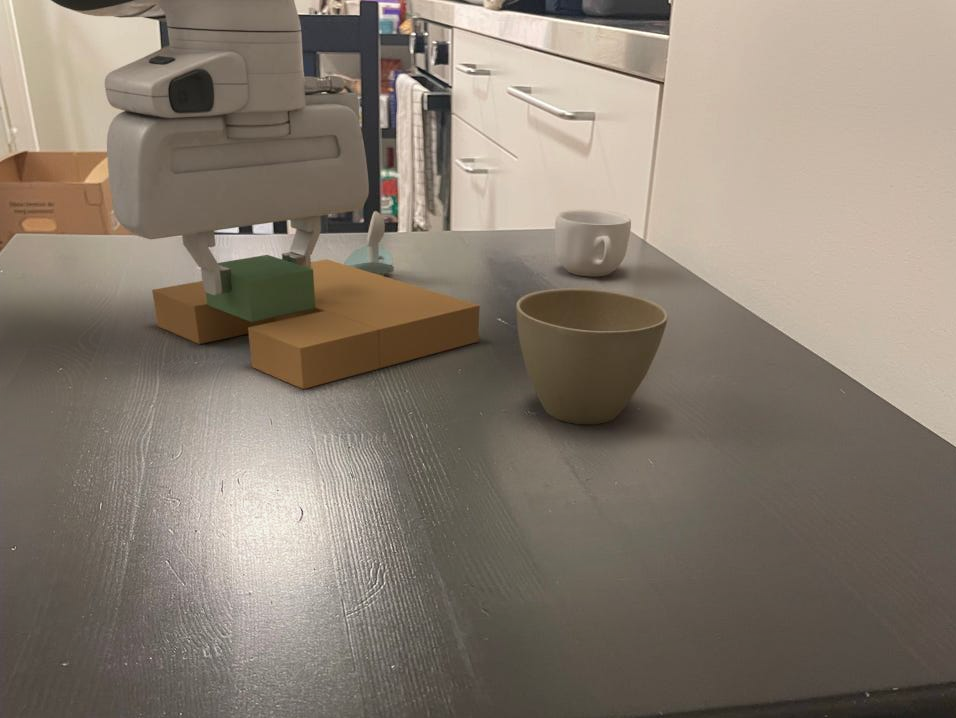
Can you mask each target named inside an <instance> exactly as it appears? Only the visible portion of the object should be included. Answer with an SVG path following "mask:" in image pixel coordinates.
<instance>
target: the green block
mask: <svg viewBox="0 0 956 718" xmlns="http://www.w3.org/2000/svg"><path fill="white" fill-rule="evenodd" d="M217 263H218V265H221V266H222V267H227V268H230V269H231V281H230V282H231V284H232V290H231V292H229V293H224V294H220V295H211V294H209V293H206V298H207V305H208V306H211V307H214V308H216V309H219V310H221V311H224V312H227V313H229V314H232V315H234V316H237V317H240V318H242V319H245V320H247V321H250V322H255V321H259V320H264V319H269V318H273V317H278V316H283V315H287V314H292V313H296V312H301V311H306V310H310V309H315V292H314V276H313V269H311V268H308V267H305V266H302V265H299V264H295V263H292V262H289V261H286V260H282V258H279V257H276V256H272V255H269V254H263V255H257V256H252V257H245V258H240V259H234V260H226V261H221V262H217Z"/></svg>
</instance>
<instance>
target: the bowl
mask: <svg viewBox="0 0 956 718" xmlns="http://www.w3.org/2000/svg"><path fill="white" fill-rule="evenodd" d="M515 311H516V312H515V315H516V326H517V334H518V340H519V345H520V349H521V354H522V358H523V361H524V364H525V368H526V372H527V374H528V376H529V379H530V382H531V384H532V386H533V389H534V391H535V394H536V395H537V397H538V399H539V401H540V403H541V405H542V407H543V409H544V410H545V412H546V414H548V415H549V416H550V417H552V418H554V419H556V420H559V421H561V422H565V423H569V424H575V425H599V424H600V425H601V424H604V423H607V422H610V421H612V420H614V419H615V418H617V416H618V415H619V414H620V413H621V412H622V411H623V409H624V408H625V407H626V405H627V404H628V403H629V402H630V400H631V399H632V398H633V396H634V394H635V393H636V392H637V390H638V389H639V387H640V385H641V384H642V382H643V380H644V378H645V377H646V376H647V373H648V372H649V369H650V368H651V365H652V363H653V361H654V360H655V357H656V354H657V352H658V350H659V347H660V345H661V342H662V339H663V336H664V333H665V331H666V326H667V323H668V319H669V313H668V311H667V310H666V309H665V308H664V307H663V306H661V305H660V304H658V303H656V302H654V301H652V300H649V299H646V298H644V297H641V296H636V295H633V294H629V293H625V292H620V291H614V290H606V289H597V288H584V287H583V288H581V287H576V288H575V287H566V288H565V287H564V288H563V287H562V288H551V289H545V290H539V291H535V292H531V293H528V294H525V295H524V296H521V297H520V298H518V300H517V301H516V304H515Z"/></svg>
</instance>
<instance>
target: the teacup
mask: <svg viewBox="0 0 956 718" xmlns="http://www.w3.org/2000/svg"><path fill="white" fill-rule="evenodd" d="M554 223H555V225H554V239H555V240H554V247H555V253H556V257H557V259H558V261H559V263H560V265H561V266H562V267H563V268H564V269H565V270H566V271H567V272H568V273H570V274H572V275H576V276H580V277H581V276H582V277H604V276H608V275H610V274H611V273H613V272H614V271H616V270H617V269H618V268H619V267H620V265H621V264H622V262H623V261H624V259H625V256H626V253H627V251H628V246H629V241H630V236H631V235H630V234H631V230H632V229H631V228H632V220H631V218H630V216H628V215H625V214H622V213H619V212H615V211H610V210H609V211H608V210H601V209H600V210H599V209H570V210H563V211H560V212H558V213H557V214H556V217H555V222H554Z"/></svg>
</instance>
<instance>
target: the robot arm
mask: <svg viewBox="0 0 956 718" xmlns="http://www.w3.org/2000/svg"><path fill="white" fill-rule="evenodd" d="M50 1H51V2H52V3H54V4H56V5H58V6H60V7H63V8H65V9H68V10H71V11H73V12H76V13H80V14H81V15H82V14H83V15H88V16H93V17H114V18H124V19H125V18H145V19H150V20H153V21H158V22H163V23H166V26H167V35H168V42H169V44H168V45H166V46H164V47H161V48H160V49H158V50H156V51H153V52H151V53H149V54H147V55H146V56H143V57H141V58H139V59H137V60H134V61H131V62H129V63H127V64H125V65H122V66H121V67H118V68H116V69H113V70H112V71H110V72H108V73H107V75H106V76H105V78H104V88H105V90H104V91H105V95H106V99H107V101H108V103H109V105H110V106H111V107H112V108H115V109H116V110H117V109H118V110H121V111H122V112H119V113H118V114H117V115H116V116H114V118H113V119H112V120H111V122H110V124H109V126H108V131H107V135H106V159H107V171H108V181H109V191H110V197H111V203H112V208H113V209H112V210H113V212H114V213H113V214H114V216H115V218H116V220H117V222H118V223H119V224H120V225H121V226H122V228H124V229H125V231H127V232H128V233H130V234H132V235H134V236H137V237H139V238H143V239H147V240H157V239H165V238H172V237H179V236H181V238H182V244H183V246H184V247H185V248H186V251H187V252H188V254H189V255H190V256H191V257H192V259H193V260H194V262H195V264H196V265H197V267H198V268H200V273H201V279H202V280H201V281H202V282H203V287H204V290H205V291H206V293H209V294H211V295H220V294H224V293H229V292H231V290H232V284H231V282H230V281H231V269H230V268H227V267H222V266H221V265H218V263H219V262H218V261H217V259H216V258H215V256H214V254H213V253H212V252H211V249H210V248H214V247H215V246H216V236H215V232H216V231H222V230H230V229H234V228H235V229H236V228H243V227H249V226H256V225H265V224H271V223H278V222H279V223H280V222H285V221H290V227H291V228H292V229H295V234H294V237H293V240H292V243H291V247H290V250H289V251H288V252H283V253H281V259H282V260H286V261H289V262H292V263H295V264H299V265H302V266H305V267H308V268H311V262H312V260H311V256H312V255H313V253H314V250H315V247H316V245H317V243H318V240H319V238H320V235H321V232H322V217H321V216H327V215H334V214H335V215H336V214H342V213H349V212H356V211H360V210H362V209H363V208H364V206H365V204H366V201H367V200H368V198H369V194H370V192H369V191H370V187H369V174H368V164H367V155H366V149H365V143H364V137H363V132H362V127H361V124H360V123H361V119H360V118H361V117H360V101H359V96H358V95H357V94H356V92H355V91H354V89H353V88H352V86H350V84H349V83H347V82H345V81H344V79H343V78H342V77H341V76H338V75H326V76H323V77H316V76H305V72H304V58H303V57H304V56H303V55H304V54H303V37H302V36H303V35H302V31H301V30H302V26H301V20H300V16H299V13H298V10H297V6H296V3H295V0H50ZM344 90H345V91H344Z"/></svg>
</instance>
